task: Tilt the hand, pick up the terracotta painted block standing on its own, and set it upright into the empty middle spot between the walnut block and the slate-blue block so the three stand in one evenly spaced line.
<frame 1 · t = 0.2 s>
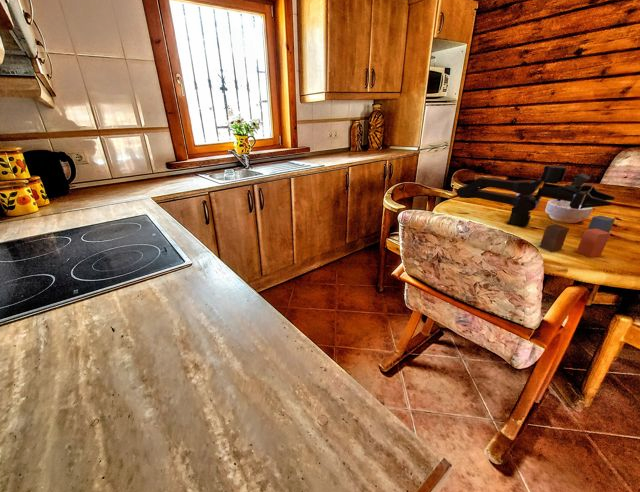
hand: (612, 201, 103), 17 cm above the table, tool horizontal, fingers open, 9 cm apart
slate block: (594, 238, 111), on the table
tin: (522, 206, 149), on the table
paper bowls: (563, 220, 130), on the table
walnut block: (549, 248, 106), on the table
terracotta block: (588, 253, 101), on the table
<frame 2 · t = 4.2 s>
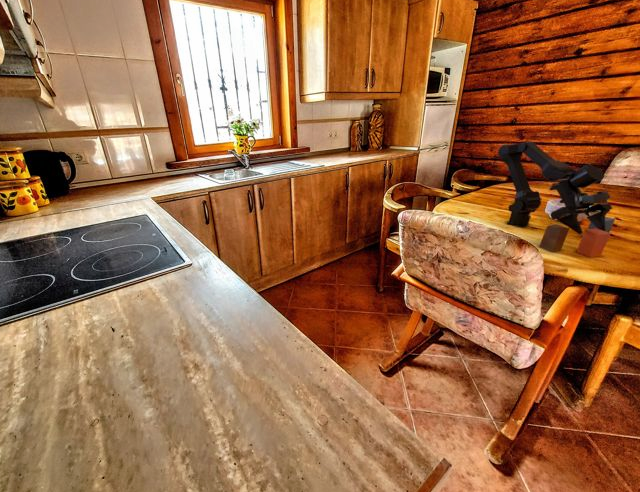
hand: (592, 232, 99), 8 cm above the table, tool tilted 45°, fingers open, 9 cm apart
walnut block: (549, 248, 106), on the table, touching gripper
everything else where it was.
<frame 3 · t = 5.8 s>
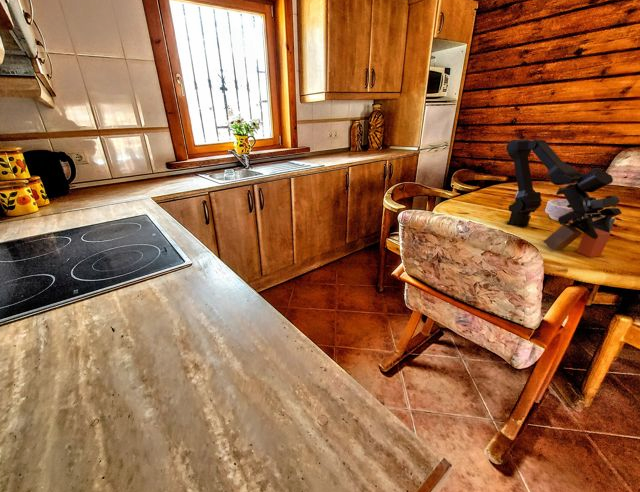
hand: (602, 237, 96), 7 cm above the table, tool tilted 45°, fingers closed on terracotta block, 4 cm apart
walnut block: (552, 246, 105), point 1 cm above the table, tilted 24°, touching gripper
terracotta block: (588, 253, 101), on the table, touching gripper
everything else where it was.
when the fingers open (7 cm above the table, at t = 11.4 s): terracotta block stays where it is, on the table.
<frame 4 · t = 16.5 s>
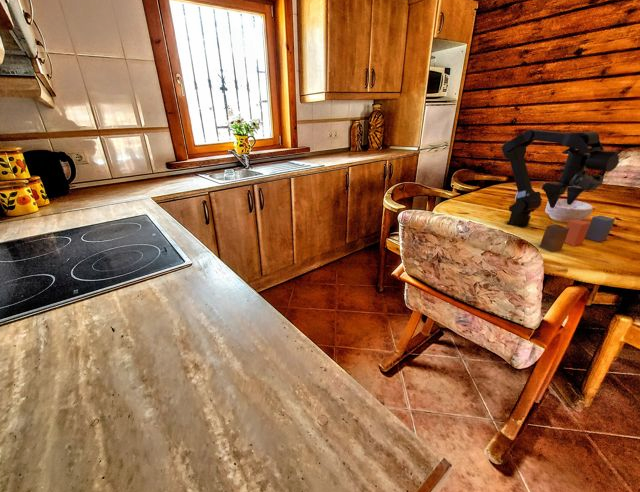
hand: (560, 206, 111), 13 cm above the table, tool pointing down, fingers open, 9 cm apart
walnut block: (550, 248, 106), on the table
terracotta block: (571, 242, 109), on the table
everything else where it was.
at the end: terracotta block 0.7 cm from the target spot, on the table; terracotta block tilted 0°; walnut block moved 0.1 cm from its start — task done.
